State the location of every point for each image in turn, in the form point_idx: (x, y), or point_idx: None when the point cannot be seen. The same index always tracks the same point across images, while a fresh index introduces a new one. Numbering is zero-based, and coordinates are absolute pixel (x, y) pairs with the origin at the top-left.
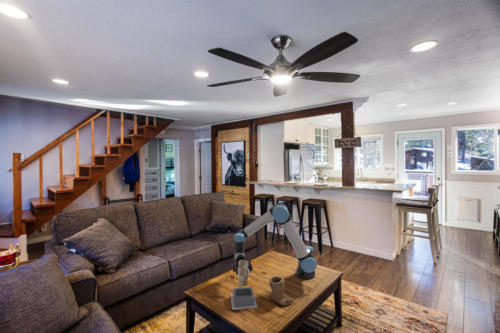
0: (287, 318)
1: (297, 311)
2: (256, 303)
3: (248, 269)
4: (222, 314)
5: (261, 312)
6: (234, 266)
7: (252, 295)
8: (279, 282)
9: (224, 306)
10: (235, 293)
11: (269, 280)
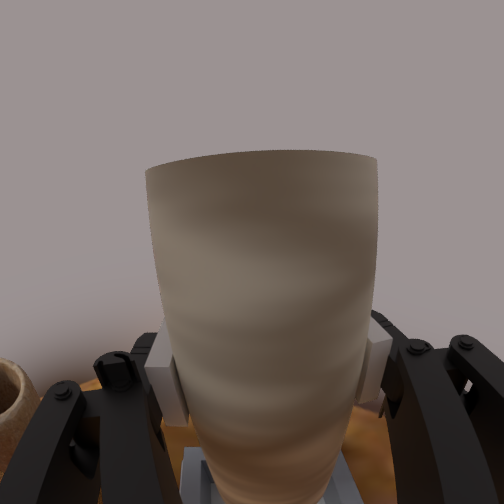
0: (91, 385)
1: (40, 399)
2: (180, 485)
3: (166, 329)
4: (373, 413)
5: (172, 430)
6: (497, 388)
7: (194, 471)
8: (3, 358)
9: (387, 461)
10: (341, 491)
11: (13, 427)
